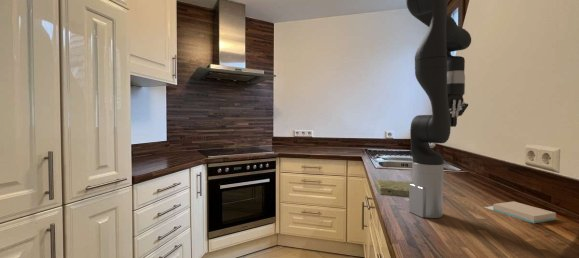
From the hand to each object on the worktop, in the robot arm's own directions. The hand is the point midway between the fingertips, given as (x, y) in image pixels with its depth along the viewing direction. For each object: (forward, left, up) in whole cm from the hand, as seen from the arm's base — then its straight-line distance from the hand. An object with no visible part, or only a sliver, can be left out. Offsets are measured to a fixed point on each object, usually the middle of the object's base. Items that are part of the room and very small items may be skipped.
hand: (452, 126), depth 106 cm
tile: (+5, -17, -27) cm, 33 cm away
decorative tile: (-13, +14, -30) cm, 35 cm away
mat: (+5, -20, -29) cm, 36 cm away
